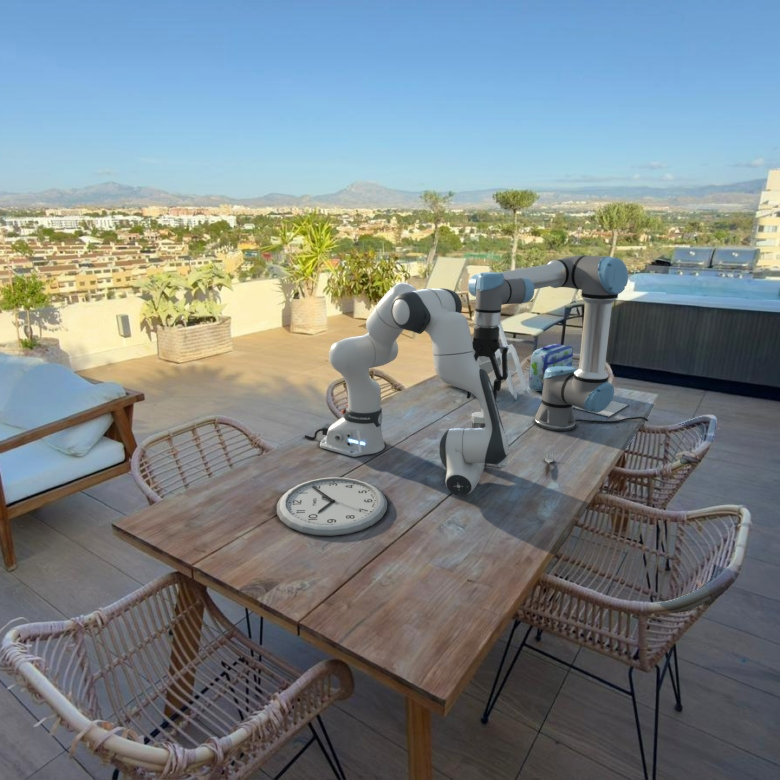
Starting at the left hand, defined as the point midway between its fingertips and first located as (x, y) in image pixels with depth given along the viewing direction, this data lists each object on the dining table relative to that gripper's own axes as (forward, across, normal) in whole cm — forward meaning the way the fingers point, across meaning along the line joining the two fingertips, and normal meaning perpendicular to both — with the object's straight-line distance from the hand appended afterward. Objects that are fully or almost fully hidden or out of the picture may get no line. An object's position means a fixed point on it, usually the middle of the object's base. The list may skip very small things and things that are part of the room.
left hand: (478, 445), depth 168 cm
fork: (+6, -22, +6) cm, 23 cm away
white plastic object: (+77, +13, +6) cm, 78 cm away
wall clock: (-41, +32, +6) cm, 53 cm away
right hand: (-1, 0, -16) cm, 16 cm away
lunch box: (+96, -17, +6) cm, 98 cm away
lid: (-1, 0, -10) cm, 11 cm away
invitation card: (+77, -40, +6) cm, 87 cm away
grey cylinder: (-1, 0, +6) cm, 6 cm away
